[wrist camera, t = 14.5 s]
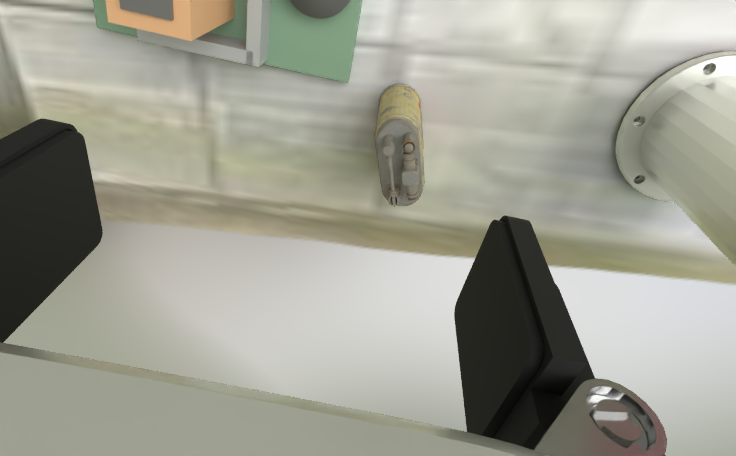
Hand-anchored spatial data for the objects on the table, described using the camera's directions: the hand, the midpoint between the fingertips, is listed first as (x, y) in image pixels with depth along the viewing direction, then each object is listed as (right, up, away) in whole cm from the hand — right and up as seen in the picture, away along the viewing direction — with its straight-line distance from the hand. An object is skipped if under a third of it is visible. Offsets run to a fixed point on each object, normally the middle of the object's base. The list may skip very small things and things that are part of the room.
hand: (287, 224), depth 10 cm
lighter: (+5, +9, +28) cm, 30 cm away
